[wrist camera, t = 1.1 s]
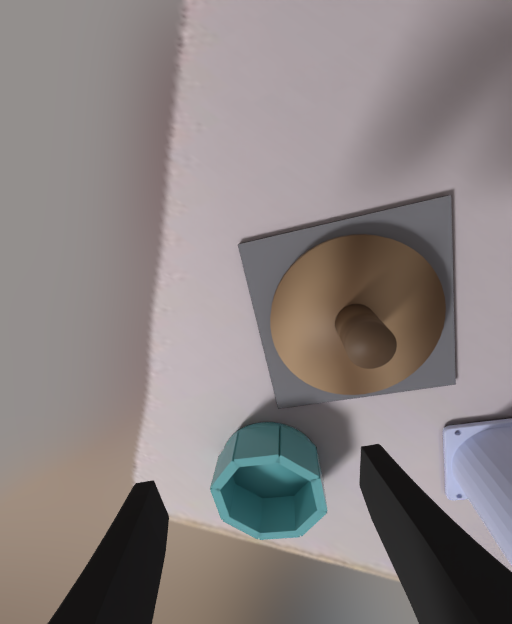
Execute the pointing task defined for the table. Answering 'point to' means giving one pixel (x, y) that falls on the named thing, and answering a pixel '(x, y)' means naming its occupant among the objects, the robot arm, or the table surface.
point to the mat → (388, 223)
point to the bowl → (269, 482)
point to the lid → (357, 314)
